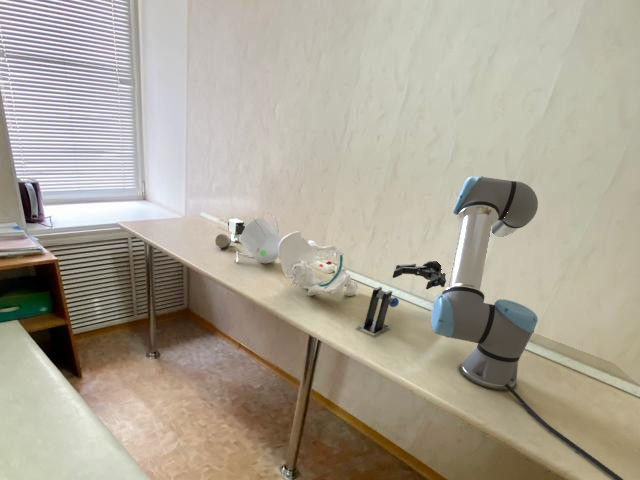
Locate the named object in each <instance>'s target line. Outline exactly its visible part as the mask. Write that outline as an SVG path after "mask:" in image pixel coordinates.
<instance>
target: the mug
mask: <svg viewBox="0 0 640 480" xmlns="http://www.w3.org/2000/svg"><path fill="white" fill-rule="evenodd" d="M231 239H232V238H230V237H229V236H228V235H227V234H225V233H220V234H217V236H216V237H215V242H214V243H215V244H216V247H218V248H221V249H224V248H225V249H226V248H227V247H228V246H230V245H231V244H232V240H231Z"/></svg>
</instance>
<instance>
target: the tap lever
mask: <svg viewBox="0 0 640 480" xmlns="http://www.w3.org/2000/svg"><path fill="white" fill-rule="evenodd" d="M384 293H386V292H385V291H383V290H381V291H380V290H379V291H378V294H377V296H376V297H377V298H379V300H382V299H383V295H384ZM399 304H400V301H399V298H398V297H396V296H391V299H390V302H389V307H391V308H396V307H397V306H398V305H399Z"/></svg>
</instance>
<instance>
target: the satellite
mask: <svg viewBox="0 0 640 480" xmlns="http://www.w3.org/2000/svg"><path fill="white" fill-rule="evenodd" d="M267 214H268V215H270V216H272V217H273V218H274V224H275V228H274V227H273V226H272V225H271V224H270V223H269V222H268V221H267V220H266V219H265V218H262V217H258V218H255V217H253V218H252V219H253V220H252V221H250V222H249V223H248V224H247V225H246V226H245V229H244V230H243V232H242V234H241V235H240V237H239V242H240V244H241V246H243V247H244V249H245V250H247V252H248V253H249V254H246V253H243V252H239V251H238V250H236V252H235V254H236V258H235V263H239V261H240V256H243V257H246V258H250V259H254V260H256V261H257V262H259V263H261V264H270V263H273V262H275V261H276V260H277V259H279V253H278V249H279V243H280V241H281V240H282V239H283V238H284V237H282V235H281V234H280V230H279V226H278V225H279V224H278V222H279V223H280V224H282V225H286V220H285V219H283V218H281V217H280V218H279V217H277V216H275V215H273V214H272V213H270V212H267ZM275 229H276V230H275Z"/></svg>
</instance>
